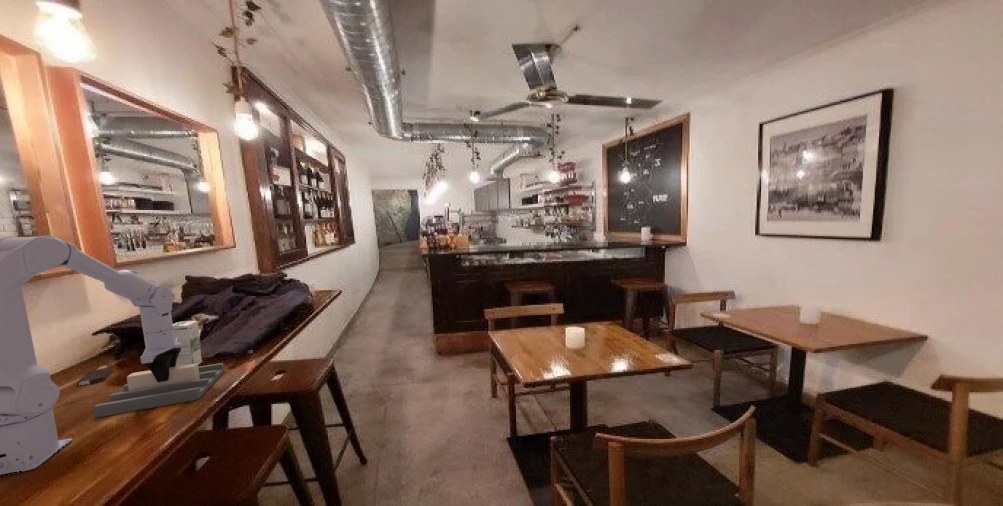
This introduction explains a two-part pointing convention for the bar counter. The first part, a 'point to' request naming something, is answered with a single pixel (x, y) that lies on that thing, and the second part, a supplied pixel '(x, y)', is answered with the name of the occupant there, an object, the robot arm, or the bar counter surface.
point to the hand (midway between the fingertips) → (165, 378)
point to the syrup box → (188, 342)
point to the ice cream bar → (95, 376)
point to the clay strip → (175, 376)
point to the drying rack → (160, 393)
